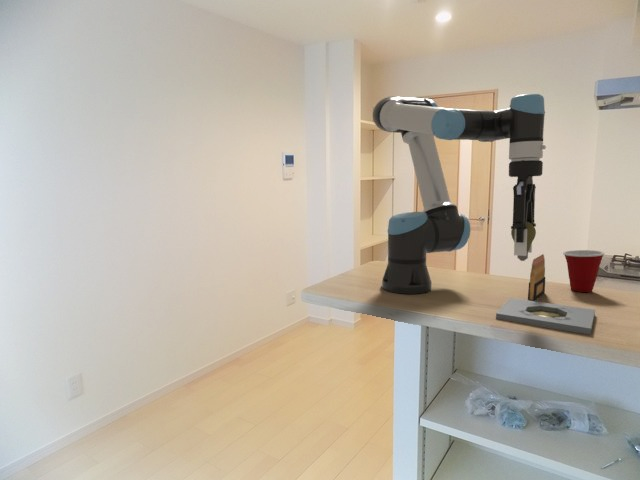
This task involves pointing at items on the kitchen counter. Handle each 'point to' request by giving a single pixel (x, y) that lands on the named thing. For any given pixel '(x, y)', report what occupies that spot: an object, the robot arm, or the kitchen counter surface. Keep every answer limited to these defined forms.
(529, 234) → the light bulb
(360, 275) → the kitchen counter surface
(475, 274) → the kitchen counter surface
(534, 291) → the ammunition clip
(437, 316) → the kitchen counter surface
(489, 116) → the robot arm
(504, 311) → the socket plate
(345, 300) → the kitchen counter surface
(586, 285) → the plastic cup
